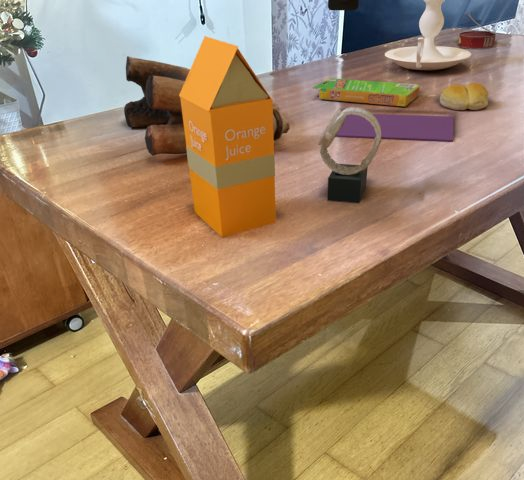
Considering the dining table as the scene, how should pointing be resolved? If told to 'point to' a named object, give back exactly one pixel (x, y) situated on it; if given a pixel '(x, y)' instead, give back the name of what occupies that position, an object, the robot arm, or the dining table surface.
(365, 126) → the cloth
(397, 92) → the game box
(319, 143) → the watch
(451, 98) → the bread roll
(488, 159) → the dining table surface
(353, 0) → the robot arm
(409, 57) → the candlestick
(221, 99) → the orange juice
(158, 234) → the dining table surface
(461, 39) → the canned food
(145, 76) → the stacked firewood logs
